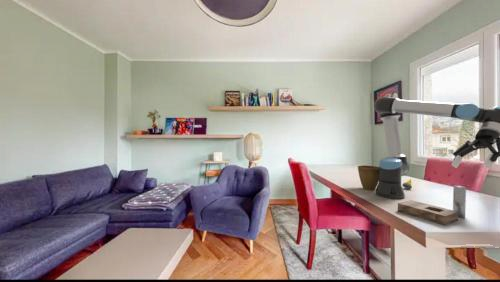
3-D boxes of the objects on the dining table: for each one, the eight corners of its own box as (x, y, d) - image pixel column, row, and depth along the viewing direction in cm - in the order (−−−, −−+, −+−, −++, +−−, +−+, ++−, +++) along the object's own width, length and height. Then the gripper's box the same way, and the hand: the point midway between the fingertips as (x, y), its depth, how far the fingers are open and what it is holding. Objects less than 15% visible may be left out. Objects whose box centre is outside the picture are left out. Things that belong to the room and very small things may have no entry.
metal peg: (451, 215, 94) (451, 186, 93) (455, 214, 95) (455, 185, 95) (462, 218, 90) (463, 188, 90) (466, 217, 92) (467, 187, 91)
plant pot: (352, 187, 146) (352, 165, 145) (367, 186, 151) (367, 165, 150) (370, 192, 132) (371, 168, 131) (386, 191, 137) (387, 168, 136)
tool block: (397, 210, 99) (397, 203, 99) (410, 207, 104) (411, 200, 104) (444, 225, 83) (445, 216, 83) (458, 220, 88) (458, 211, 88)
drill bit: (399, 188, 145) (405, 178, 148) (408, 192, 142) (413, 182, 145) (402, 185, 141) (408, 175, 144) (410, 190, 138) (416, 179, 141)
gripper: (531, 133, 87) (510, 172, 84) (466, 140, 111) (448, 170, 109) (517, 123, 87) (495, 161, 84) (455, 132, 112) (437, 162, 109)
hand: (469, 166), depth 96 cm, fingers open, 13 cm apart
